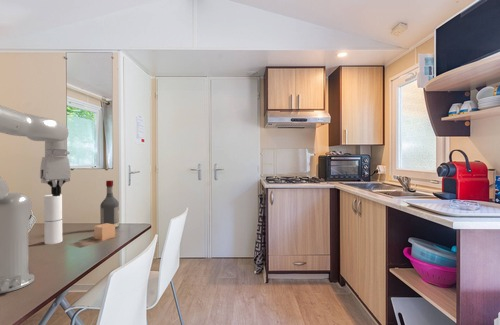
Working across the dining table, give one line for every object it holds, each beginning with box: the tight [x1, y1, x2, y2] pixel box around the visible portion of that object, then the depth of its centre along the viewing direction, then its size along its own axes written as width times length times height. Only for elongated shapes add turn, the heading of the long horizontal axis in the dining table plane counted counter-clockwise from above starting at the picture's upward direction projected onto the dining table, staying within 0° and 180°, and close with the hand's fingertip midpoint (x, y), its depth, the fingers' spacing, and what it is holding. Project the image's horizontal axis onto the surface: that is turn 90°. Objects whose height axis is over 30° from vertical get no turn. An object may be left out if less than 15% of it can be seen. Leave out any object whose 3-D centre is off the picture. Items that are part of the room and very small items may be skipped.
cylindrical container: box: [43, 193, 63, 245], centre depth 129 cm, size 7×7×25 cm
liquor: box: [99, 180, 120, 230], centre depth 155 cm, size 9×9×30 cm
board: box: [68, 235, 120, 248], centre depth 132 cm, size 20×10×2 cm, turn 151°
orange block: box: [93, 223, 116, 241], centre depth 137 cm, size 7×7×6 cm
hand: (56, 195), depth 113 cm, fingers closed
